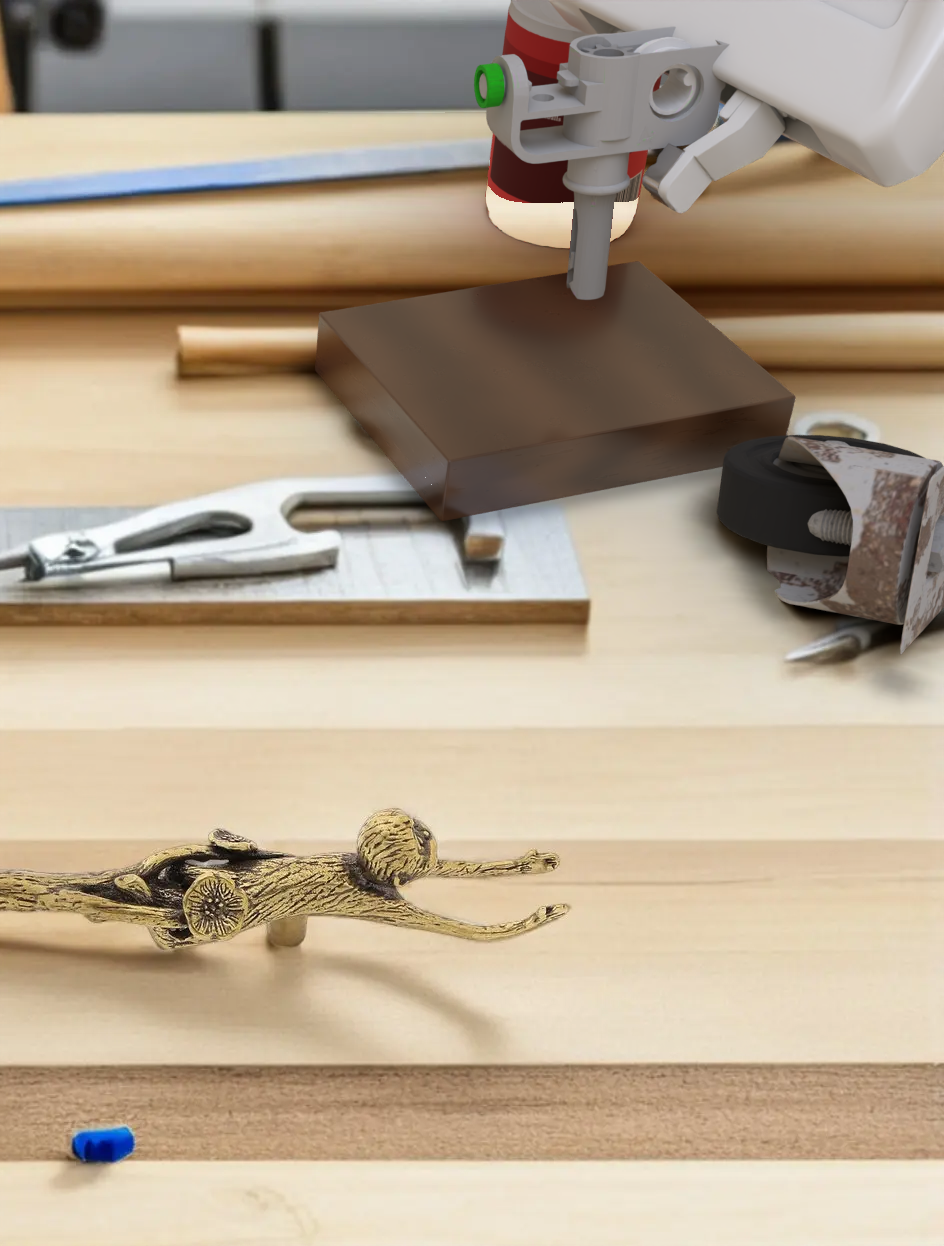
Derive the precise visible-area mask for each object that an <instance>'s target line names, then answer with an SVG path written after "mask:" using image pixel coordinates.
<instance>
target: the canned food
mask: <svg viewBox="0 0 944 1246" xmlns="http://www.w3.org/2000/svg"><path fill="white" fill-rule="evenodd" d="M506 17H507V18H506V24H505V30H504V37H503V45H502V54H501V56H502V55H510V54H515V55H517V56H518V57H519V58H520V59H521V60H522V62H523V64H524V66H525V69H526V72H527V77H528V80H529V81H530V82H531V83H532V86H541V85H549V84H557V83H558V81H559V80H558V79H557V73H558V71H559V69H560V64H561V63H568V59H569V48H570V44H571V42H572V41H573V40H575V39H577V38H579V37H583V36H587V35H588V34H586V33H585V32H583V31H581V30H579V29H577V28H575V27H573V26H571V25H570V24H568V23H567V22H566V21H565V20H564V19H563V18H562V16H561V15H560V14H559V13H558V12H557V10H556V9H555V8H554V7H553V6H552V4H551V3H550V2H549V0H510V3H509V6H508V10H507V16H506ZM662 76H663V74H662V75H661V76H660V77H659V78H658V79H657V81H656V82H655V85H654V87H653V92H654V91H656V90H658V89H659V88H660V87H661V82H662ZM563 121H564V115H562V116H554V117H546V118H537V119H529V120H523V121H521V124H520V131H521V130H530V129H538V128H546V127H554V126H562V125H563ZM490 144H491V145H490V153H489V160H490V166H489V165H488V168H489V170H488V171H487V177H488V186H489V187H490V188H491V190H492V191H493V192H494V193H495V194H496V195H498V196H499V197H501V198H504V199H506V200H509V201H514V202H522V203H561V202H562V203H563V202H574V191H572V190H570V189H568V188H567V187H566V186H565V185H564V183H563V176H564V174H565V173H566V172H567V169H568V160H563V161H555V162H547V163H539V164H532V163H527V162H525V161H523V160H521V159H520V158H519V157H518V156H517V155H516V154H514V153H513V152H512V151H511V150H510V149H509V148H508V147H507V146H506V145H505V144H504V143H503V142H502V141H501V140H500V139H499V138H498V137H497V136H495V135H494V134H493V133H492V137H491V143H490ZM648 153H649V150H643V151H635V152H629V161H628V170H627V174H628V176H629V177H630V183H629V186H628V187H627V188H626V189H625V190H623V191H621V192H619V193H616V196H615V200H614V202H629V201H634V200H636V199H637V198H638V197H639V195H640V196H641V191H642V187H643V184H642V180H643V176H644V173H645V171H646V170H645V169H646V163H647V158H648ZM484 197H486V192H485V195H484ZM639 198H640V197H639Z"/></svg>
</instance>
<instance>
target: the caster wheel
mask: <svg viewBox="0 0 944 1246" xmlns="http://www.w3.org/2000/svg"><path fill="white" fill-rule="evenodd" d="M721 468H722V470H721V477H720V483H719V491H718V492H719V493H718V501H717V507H716V514H717V517H718V519H719V521H720V522H721V523H722V524H723V526H724V527H726V528H727V529H728V530H729V531H731V532H733V533H734V534H737V535H739V536H740V537H742V538H744V539H747V540H750V541H753V542H755V543H758V544H761V545H764V546H766V571H767V572H768V573H769V574H771V575H772V576H773V577H774V578H776V580H778V581H779V585H780V587H778V588H776V589H774V593H775V594H776V596H777V599H779V600H780V601H782V602H784V603H786V604H789V605H795V606H800V607H805V608H809V609H816V610H821V611H824V612H825V611H826V612H829V613H836V614H841V615H847V616H852V617H857V618H862V619H866V620H871V621H872V620H873V621H878V622H882V623H889V624H893V625H899V626H902V625H903V626H902V627H903V628H902V634H901V639H900V646H899V653H900V655H902V654H903V653H904V652H905V651H906V650H907V648H909V647H910V645H912V643H913V642H914V641H915V640H916V638H918V636H919V635H921V633H922V632H923V631H924V630H925V629H926V628H927V627H928V626H929V624H931V622H932V621H933V620H934V619H935V618H936V616H937V615H939V613H940V612H941V611H943V609H944V465H943V462H942V461H940V460H937V459H931V458H926V457H924V456H922V455H920V454H918V453H916V452H914V451H911V450H908V449H905V448H902V447H898V446H894V445H890V444H888V443H884V442H878V441H871V440H866V439H861V438H855V437H847V436H833V435H821V434H787V435H785V436H770V437H764V438H759V439H753V440H749V441H745V442H743V443H740V444H738V445H735V446H734V447H732V448H731V449H730V450H729V451H728V452H727V453H726V454H725V457H724V461H723V467H721Z"/></svg>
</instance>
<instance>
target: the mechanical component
mask: <svg viewBox="0 0 944 1246" xmlns="http://www.w3.org/2000/svg"><path fill="white" fill-rule="evenodd" d="M675 28H676V27H665V28H656V29H648V30H639V31H630V32H622V33H613V34H593V35H587V36H583V37H579V38H577V39H575V40H573V41H572V42H571V44H570V48H569V59H568V63H561V64H560V69H559V71H558V73H557V79H558V80H559V81H558V83H557V84H549V85H541V86H532V83H531V82H530V81H529V80H528V77H527V72H526V69H525V66H524V64H523V62H522V60H521V59H520V58H519V57H518V56H517V55H515V54H510V55H502V54H501V55H497V56H495V57H494V58H493V59H492V61H491V63H484V64H479V65H478V66H477V67H476V68H475V71H474V77H473V88H474V89H473V90H474V97H475V100H476V103H477V105H478V107H479V108H480V109H485V111H486V112H485V119H486V124H487V126H488V128H489V130H490V131H491V132H492V135H493V134H494V135H495V136H497V137H498V138H499V139H500V140H501V141H502V142H503V143H504V144H505V145H506V146H507V147H508V148H509V149H510V150H511V151H512V152H513V153H514V154H516V155H517V156H518V157H519V158H520V159H521V160H523V161H525V162H527V163H532V164H539V163H547V162H555V161H563V160H568V169H567V172H566V173H565V174H564V176H563V183H564V185H565V186H566V187H567V188H568V189H570V190H572V191H574V209H573V219H572V230H571V241H570V249H569V253H568V264H567V272H568V274H567V288H571V290H572V292H573V294H574V295H575V296H576V298H577V299H583V300H591V299H597V298H600V297H602V296H603V295H604V292H605V286H606V276H607V267H608V266H609V256H610V247H611V242H610V238H611V229H612V219H613V209H614V200H615V196H616V193H619V192H621V191H623V190H625V189H626V188H627V187H628V186H629V183H630V177H629V176H628V174H627V170H628V161H629V152H635V151H643V150H648V151H649V150H650V151H651V150H658V149H664V148H665V147H666V146H667V144H668V143H669V144H671V145H673V146H675V147H681V146H689V145H691V144H692V143H694V142H695V141H697V140H698V139H700V138H702V137H703V136H705V135H706V134H708V133H709V132H711V131H712V129H713V127H714V125H715V123H716V120H717V119H718V116H719V111H720V110H719V109H720V104H721V103H720V96H721V91H722V90H723V89H724V88H725V84H726V82H724V81H722V80H720V79H718V78H717V77H716V76H715V75H714V74H713V70H712V68H713V64H714V62H715V61H716V60H717V58H718V57H719V56H720V54H721V53H722V52H723V51H724V50H725V49H726V48H727V47H728V46H729V45H730V44H727V43H724V42H721V41H718V40H716V42H717V44H718V45H714V46H705V47H697V48H691V45H690V44H689V43H687V42H686V41H684V40H682V39H679V38H675V37H672V36H673V33H674V31H675ZM667 70H670V72H669V75H667V79H666V80H665V81H664V83H663V84H662V85H661V86H660V88H659V89H658V90H656V91H654V92H653V87H654V85H655V82H656V81H657V79H658V78H659V77H660V76H661V75H662V76H663V74H664V72H666V71H667ZM562 115H564V121H563V125H562V126H554V127H546V128H538V129H530V130H521V131H520V124H521V121H523V120H529V119H537V118H546V117H554V116H562Z"/></svg>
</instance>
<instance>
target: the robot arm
mask: <svg viewBox="0 0 944 1246" xmlns="http://www.w3.org/2000/svg"><path fill="white" fill-rule="evenodd" d="M549 2H550V3H551V4H552V6H553V7H554V8H555V9H556V10H557V12H558V13H559V14H560V15H561V16H562V18H563V19H564V20H565V21H566V22H567V23H568V24H570V25H571V26H573V27H575V28H577V29H579V30H581V31H583V32H585V33H586V34H588V35H593V34H613V33H622V32H630V31H639V30H648V29H656V28H665V27H676V28H675V31H674V33H673V36H672V37H675V38H679V39H682V40H684V41H686V42H687V43H689V44H690V45H691V48H697V47H705V46H714V45H718V44H717V42H716V40H718V41H721V42H724V43H727V44H730V45H729V46H728V47H727V48H726V49H725V50H724V51H723V52H722V53H721V54H720V56H719V57H718V58H717V60H716V61H715V62H714V64H713V68H712V70H713V74H714V75H715V76H716V77H717V78H718V79H720V80H722V81H724V82H726V84H725V88H724V89H723V90H722V91H721V96H720V103H719V104H722V105H723V107H721V109H720V110H719V111H718V116H719V117H720V118H721V120H722V121H723V123H722V124H720V125H719V126H717V127H716V128H714V129H711V130H710V131H709V132H708V133H707V134H706V135H705V136H703V137H702V138H700V139H698V140H697V141H695V142H694V143H692V144H689V145H686V147H684V148H683V149H681V148H679V147H678V146H673V145H671V144H669V143H668V144H667V146H666V147H665V148H662V150H661V152H660V153H659V154H658V155H657V157H656V162H655V163H654V164H652V165H649V167H648V168H647V169H646V170H645V171H644V176H643V180H642V187H644V189H645V190H646V191H647V192H648V193H649V194H650V196H651V197H652V198H653V199H654V200H656V201H657V202H659V203H661V204H662V205H664V206H665V207H667V208H669V209H670V210H671V211H674V212H676V213H678V214H684V213H686V212H687V211H689V209H690V208H691V207H692V206H693V205H694V204H695V202H696V201H697V200H698V199H699V197H700V196H701V195H702V194H703V193H704V192H705V190H706V189H707V188H708V187H709V185H710V184H711V183H712V181H713V182H717V181H719V180H721V179H723V178H725V177H726V176H729V175H731V174H733V173H735V172H737V171H738V170H740V169H743V168H745V167H747V166H748V165H751V164H752V163H754V162H756V161H759V160H760V159H762V158H764V157H765V155H766V154H767V153H768V152H769V151H770V149H771V148H772V147H773V146H774V144H775V143H776V142H777V141H778V140H779V138H780V137H781V136H783V137H785V138H787V139H789V140H791V141H793V142H795V143H797V144H799V145H801V146H803V147H805V148H807V149H808V150H811V151H812V152H814V153H816V154H819V155H820V156H822V157H824V158H826V159H828V160H830V161H832V162H834V163H836V164H838V165H840V166H841V167H844V168H846V169H848V170H850V171H851V172H853V173H855V174H858V175H859V176H861V177H863V178H865V179H867V180H869V181H871V182H873V183H875V184H876V185H878V186H881V187H883V188H891V187H895V186H897V185H901V184H902V183H905V182H907V181H910V180H912V179H914V178H917V177H919V176H921V175H923V174H924V173H925V172H926V171H927V170H928V169H930V168H931V167H932V166H933V164H934V163H936V161H938V159H939V158H940V157H941V156H942V155H943V153H944V0H549ZM669 72H670V70H667V71H666V72H664V73H663V74H664V75H665V76H668V75H669Z"/></svg>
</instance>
